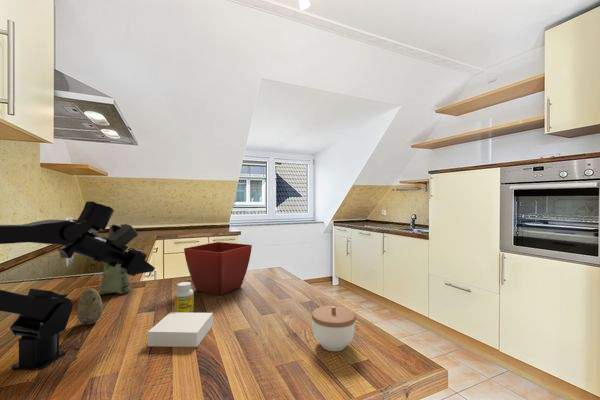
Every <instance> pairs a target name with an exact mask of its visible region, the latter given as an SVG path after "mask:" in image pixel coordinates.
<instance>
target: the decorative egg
mask: <svg viewBox="0 0 600 400" xmlns="http://www.w3.org/2000/svg"><path fill="white" fill-rule="evenodd" d="M103 310H104V305H103V301H102V297H101V296H100V295H99V291H97V290H96V289H95V288H92V287H90V288H87V289H86V290H85V291H84V292H83V293H82V295H81V296H80V298H79V302H78V304H77V309H76V316H77V320H78V321H79V323H81V324H84V325H92V324H94V323H96V322H97V321H99V319H100V318H101V317H102V314H103V312H104V311H103Z"/></svg>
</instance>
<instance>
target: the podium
mask: <svg viewBox="0 0 600 400" xmlns="http://www.w3.org/2000/svg"><path fill="white" fill-rule="evenodd" d="M213 319H214V313H213V312H194V313H184V312H175V311H174V312H173V311H172V312H171V311H170V312H169V313H168V314H167V315H165V317H163V318H162V319H161V320H160V321H159V322H157V323H156V324H155V325H154V326H153V327H152V328H151V329H149V330H148V331H147V347H163V348H164V347H168V348H169V347H172V348H175V347H176V348H177V347H178V348H179V347H180V348H181V347H182V348H184V347H186V348H197V347H198V346H199V345H200V344H201V342H202V341H203V339H204V338H205V337H206V335H207V334H208V332H209V331H210V330H211V328H212V327H213V326H214V325H213V324H214V322H213V321H214V320H213Z"/></svg>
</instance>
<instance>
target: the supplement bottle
mask: <svg viewBox="0 0 600 400" xmlns="http://www.w3.org/2000/svg"><path fill="white" fill-rule="evenodd" d="M176 289H177V290H176V291H175V292H174V312H184V313H195V312H194V310H195V309H194V307H195V305H194V300H195V299H194V298H195V297H194V294H195V293H194V290H193V289H192V283H191V282H189V281H183V282H179V283H177V285H176Z"/></svg>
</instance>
